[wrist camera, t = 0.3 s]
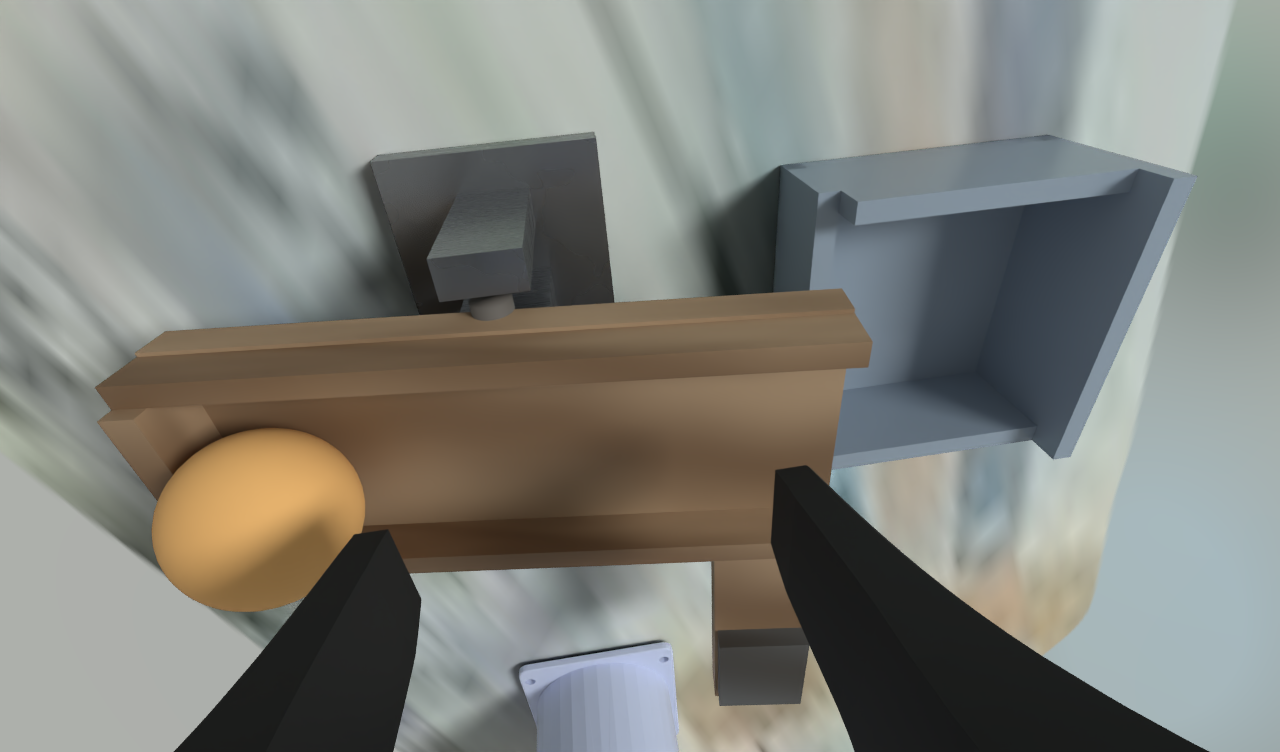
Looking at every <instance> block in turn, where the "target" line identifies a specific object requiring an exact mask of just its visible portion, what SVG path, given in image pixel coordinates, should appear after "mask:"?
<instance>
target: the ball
mask: <svg viewBox="0 0 1280 752" xmlns="http://www.w3.org/2000/svg"><path fill="white" fill-rule="evenodd" d="M364 519H365V497H364V492H363V487H362V484H361V482H360V479H359V477H358V474H357V472H356V471H355V469H354V467H353V466H352V465H351V463H350V462H349V461H348V459H347V458H346V457H345V456H344V455H343V454H342V453H341V452H340V451H339V450H338V449H336V448H335V447H334V446H332V445H331V444H329V443H328V442H326V441H324V440H322V439H320V438H318V437H316V436H314V435H311V434H308V433H305V432H302V431H298V430H292V429H284V428H261V429H253V430H247V431H243V432H239V433H235V434H232V435H229V436H226V437H224V438H222V439H219V440H217V441H215V442H213V443H211V444H209V445H208V446H206V447H204V448H203V449H201V450H200V451H198V452H197V453H195V454H194V455H193V456H191V457H190V458H189V459H188V460H187V461H186V462H185V463H184V464H183V465H182V466H181V467H179V468H178V470H177V471H176V472H175V473H174V475H173V476H172V477H171V478H170V480H169V481H168V483H167V484H166V486H165V487H164V489H163V491H162V493H161V495H160V497H159V500H158V502H157V505H156V508H155V511H154V516H153V523H152V542H153V548H154V551H155V555H156V558H157V561H158V563H159V565H160V567H161V569H162V570H163V572H164V574H165V575H166V577H167V578H168V579H169V581H170V582H171V583H172V584H173V585H174V586H175V587H177V588H178V589H179V590H180V591H181V592H182V593H184V594H185V595H187V596H188V597H190V598H191V599H193V600H195V601H197V602H199V603H201V604H204V605H206V606H209V607H212V608H216V609H220V610H226V611H234V612H255V611H263V610H268V609H273V608H278V607H281V606H284V605H287V604H290V603H292V602H295V601H297V600H299V599H302V598H303V597H305V596H307V594H308V593H309V592H310V591H311V589H312V588H313V587H314V585H315V584H316V583H317V581H318V580H319V579H320V578H321V576H322V575H323V574H324V572H325V571H326V570H327V568H328V567H329V566H330V564H331V563H332V562H333V561H334V559H335V558H336V557H337V555H338V554H339V553H340V552H341V550H342V549H343V548H344V547H345V545H346V544H347V543H348V542H349V540H350V539H351V538H352V536H353V535H354V534H360V533H362V528H363V524H364Z"/></svg>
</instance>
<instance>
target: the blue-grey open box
mask: <svg viewBox="0 0 1280 752" xmlns="http://www.w3.org/2000/svg"><path fill="white" fill-rule="evenodd" d="M1196 178H1197V176H1196V175H1192V174H1189V173H1185V172H1181V171H1178V170H1174V169H1171V168H1167V167H1163V166H1160V165H1156V164H1152V163H1149V162H1145V161H1142V160H1138V159H1134V158H1131V157H1127V156H1123V155H1120V154H1116V153H1113V152H1109V151H1105V150H1102V149H1098V148H1094V147H1091V146H1087V145H1084V144H1080V143H1076V142H1073V141H1069V140H1066V139H1062V138H1058V137H1055V136H1051V135H1043V136H1034V137H1025V138H1016V139H1008V140H999V141H990V142H981V143H972V144H963V145H955V146H946V147H937V148H928V149H919V150H911V151H902V152H893V153H884V154H875V155H867V156H858V157H849V158H840V159H831V160H822V161H814V162H805V163H796V164H787V165H781V168H780V185H779V202H778V219H777V237H776V254H775V271H774V288H773V293H776V292H792V291H808V290H824V289H839V288H842V289H843V291H844V292H845V294H846V295H847V297H848V298H849V300H850V302H851V303H852V305H853V306H854V308H855V314H856V316H857V318H858V319H859V321H860V322H861V324H862V325H863V327H864V329H865V330H866V332H867V333H868V335H869V336H870V338H871V340H872V341H873V344H872V350H871V356H870V361H869V367H868V368H851V369H846V374H845V381H844V388H843V395H842V401H841V408H840V415H839V422H838V429H837V435H836V442H835V449H834V456H833V462H832V469H831V470H833V469H840V468H847V467H853V466H860V465H867V464H874V463H880V462H887V461H894V460H900V459H907V458H914V457H920V456H927V455H934V454H941V453H947V452H954V451H961V450H967V449H974V448H981V447H987V446H994V445H1001V444H1008V443H1014V442H1021V441H1028V440H1033V441H1034V442H1035V443H1036V444H1037V445H1038V446H1039V447H1040V448H1041V449H1042V450H1043V451H1045V452H1046V453H1047V454H1048V455H1049V456H1050V457H1051V458H1052V459H1059V458H1065V457H1070V456H1071V454H1072V452H1073V450H1074V448H1075V445H1076V443H1077V441H1078V439H1079V437H1080V434H1081V432H1082V430H1083V428H1084V426H1085V423H1086V421H1087V419H1088V417H1089V415H1090V412H1091V410H1092V408H1093V406H1094V403H1095V401H1096V399H1097V397H1098V395H1099V392H1100V390H1101V388H1102V386H1103V384H1104V381H1105V379H1106V377H1107V375H1108V373H1109V370H1110V368H1111V366H1112V364H1113V362H1114V359H1115V357H1116V355H1117V353H1118V351H1119V348H1120V346H1121V344H1122V342H1123V339H1124V337H1125V335H1126V333H1127V331H1128V328H1129V326H1130V324H1131V322H1132V320H1133V317H1134V315H1135V313H1136V311H1137V309H1138V306H1139V304H1140V302H1141V300H1142V298H1143V295H1144V293H1145V291H1146V289H1147V286H1148V284H1149V282H1150V280H1151V278H1152V275H1153V273H1154V271H1155V269H1156V267H1157V264H1158V262H1159V260H1160V258H1161V256H1162V253H1163V251H1164V249H1165V247H1166V245H1167V242H1168V240H1169V238H1170V236H1171V233H1172V231H1173V229H1174V227H1175V225H1176V222H1177V220H1178V218H1179V216H1180V214H1181V211H1182V209H1183V207H1184V205H1185V203H1186V200H1187V198H1188V196H1189V193H1190V192H1191V189H1192V187H1193V185H1194V183H1195V180H1196Z"/></svg>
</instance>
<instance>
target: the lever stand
mask: <svg viewBox="0 0 1280 752" xmlns="http://www.w3.org/2000/svg"><path fill="white" fill-rule="evenodd" d="M370 164H371V167H372V170H373V173H374V176H375V179H376V182H377V185H378V188H379V191H380V194H381V198H382V201H383V204H384V207H385V210H386V213H387V216H388V219H389V222H390V225H391V228H392V231H393V234H394V237H395V241H396V244H397V247H398V250H399V253H400V256H401V259H402V262H403V265H404V268H405V271H406V274H407V277H408V280H409V283H410V287H411V290H412V293H413V296H414V299H415V302H416V305H417V308H418V311H419V314H420V315H431V314H447V313H462V312H470V308H469V304H468V301H469V300H470V298H477V297H485V296H493V295H501V294H509V293H511V294H512V297H513V301H514V306H515V309H525V308H541V307H557V306H572V305H588V304H604V303H614V295H613V286H612V277H611V268H610V259H609V250H608V241H607V232H606V223H605V214H604V205H603V197H602V188H601V179H600V170H599V161H598V152H597V143H596V136H595V133H594V132H589V133H580V134H570V135H561V136H552V137H542V138H533V139H524V140H514V141H505V142H496V143H486V144H477V145H468V146H458V147H449V148H440V149H431V150H421V151H412V152H403V153H393V154H384V155H377V156H376V157H375V158H374V159H373V160H372V161H371V162H370Z"/></svg>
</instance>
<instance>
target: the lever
mask: <svg viewBox="0 0 1280 752" xmlns="http://www.w3.org/2000/svg"><path fill="white" fill-rule="evenodd" d="M468 304H469V308H470V312H462V313H447V314H431V315H415V316H400V317H384V318H368V319H352V320H337V321H321V322H305V323H290V324H274V325H258V326H243V327H227V328H211V329H195V330H180V331H165V332H164V333H162V334H161V335H160V336H158V337H157V338H155V339H154V340H153V341H151V342H150V343H148V344H147V345H146V346H144V347H143V348H141V349H140V350H138V351H137V352H136V353H135V355H136V356H137V357H136V358H135V359H134V360H132V361H131V362H129V363H128V364H127V365H125V366H124V367H123V368H121V369H120V370H118V371H117V372H116V373H114V374H113V375H111V376H110V377H109V378H107V379H106V380H104V381H103V382H102V383H100V384H99V385H98V386H96V387H95V388H96V390H97V391H98V392H99V394H100V395H101V397H102V398H103V399H104V401H105V402H106V403H107V405H108V406H109V407H110V409H111V411H110V412H109V413H107V414H106V415H105V416H104V417H102V418H101V419H100V420H99V421H97V423H98V424H99V425H100V427H101V428H102V429H103V431H104V432H105V433H106V434H107V436H108V437H109V438H110V440H111V441H112V442H113V444H114V445H115V446H116V448H117V449H118V450H119V451H120V453H121V454H122V455H123V457H124V458H125V459H126V461H127V462H128V463H129V464H130V466H131V467H132V468H133V470H134V471H135V472H136V474H137V475H138V476H139V478H140V479H141V480H142V481H143V483H144V484H145V485H146V487H147V488H148V489H149V491H150V492H151V493H152V494H153V496H154V497H155V498H156V500H157V501H158V500H159V497H160V495H161V493H162V491H163V489H164V487H165V486H166V484H167V483H168V481H169V480H170V478H171V477H172V476H173V475H174V473H175V472H176V471H177V470H178V468H179V467H181V466H182V465H183V464H184V463H185V462H186V461H187V460H188V459H189V458H190V457H191V456H193V455H194V454H195V453H197V452H198V451H200V450H201V449H203V448H204V447H206V446H208V445H209V444H211V443H213V442H215V441H217V440H219V439H222V438H224V437H226V436H229V435H232V434H235V433H239V432H243V431H247V430H253V429H261V428H284V429H292V430H298V431H302V432H305V433H308V434H311V435H314V436H316V437H318V438H320V439H322V440H324V441H326V442H328V443H329V444H331V445H332V446H334V447H335V448H336V449H338V450H339V451H340V452H341V453H342V454H343V455H344V456H345V457H346V458H347V459H348V461H349V462H350V463H351V465H352V466H353V467H354V469H355V471H356V472H357V474H358V477H359V479H360V482H361V484H362V487H363V492H364V497H365V519H364V524H363V528H362V533H366V532H373V531H379V530H386V529H388V530H389V532H390V534H391V536H392V538H393V540H394V542H395V545H396V547H397V549H398V551H399V553H400V555H401V557H402V559H403V561H404V564H405V566H406V568H407V570H408V572H409V573H431V572H456V571H481V570H506V569H531V568H556V567H581V566H607V565H632V564H657V563H682V562H707V561H711V567H712V659H713V678H714V689H715V696H719V704H720V706H732V705H769V704H800V702H801V696H802V689H803V683H804V676H805V670H806V664H807V657H808V651H809V643H808V641H807V638H806V636H805V634H804V632H803V629H802V627H801V625H800V623H799V620H798V618H797V616H796V614H795V611H794V609H793V607H792V605H791V602H790V600H789V598H788V595H787V593H786V590H785V587H784V584H783V581H782V578H781V575H780V572H779V568H778V565H777V562H776V559H775V555H774V552H773V549H772V546H771V529H772V513H773V497H774V481H775V470H777V469H784V468H790V467H797V466H803V465H807V466H809V467H810V468H811V469H812V470H813V471H814V472H815V473H816V474H817V475H818V476H819V477H820V478H822V479H823V480H824V481H825V482H826V483H827V484H828V485H829V483H830V476H831V469H832V462H833V456H834V449H835V442H836V435H837V429H838V422H839V415H840V408H841V401H842V395H843V388H844V381H845V374H846V369H851V368H868V367H869V361H870V356H871V350H872V344H873V341H872V340H871V338H870V336H869V335H868V333H867V332H866V330H865V329H864V327H863V325H862V324H861V322H860V321H859V319H858V318H857V316H856V314H855V308H854V306H853V305H852V303H851V302H850V300H849V298H848V297H847V295H846V294H845V292H844V291H843V289H842V288H839V289H824V290H808V291H792V292H776V293H761V294H745V295H729V296H714V297H698V298H682V299H667V300H651V301H635V302H619V303H604V304H588V305H572V306H557V307H541V308H525V309H515V306H514V301H513V297H512V294H511V293H509V294H501V295H493V296H485V297H477V298H470V300H469V301H468Z"/></svg>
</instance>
